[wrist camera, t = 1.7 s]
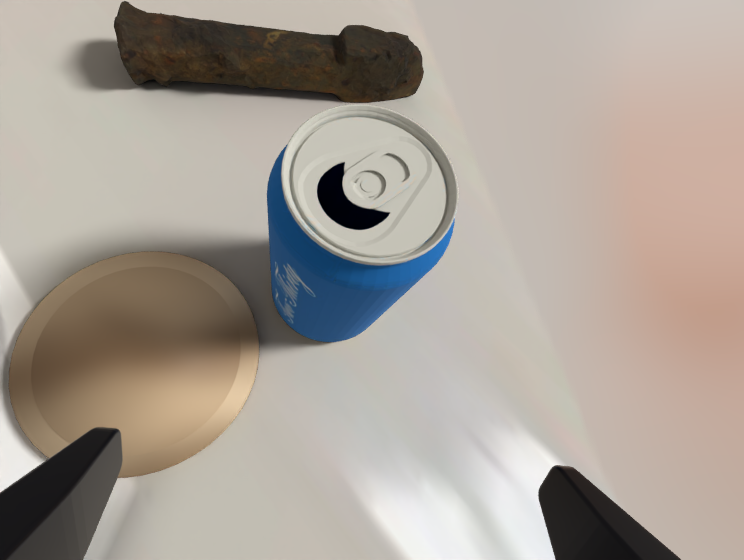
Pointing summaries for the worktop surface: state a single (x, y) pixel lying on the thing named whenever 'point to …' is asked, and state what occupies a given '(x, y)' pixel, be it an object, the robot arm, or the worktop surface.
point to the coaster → (136, 359)
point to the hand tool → (268, 56)
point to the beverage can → (355, 218)
